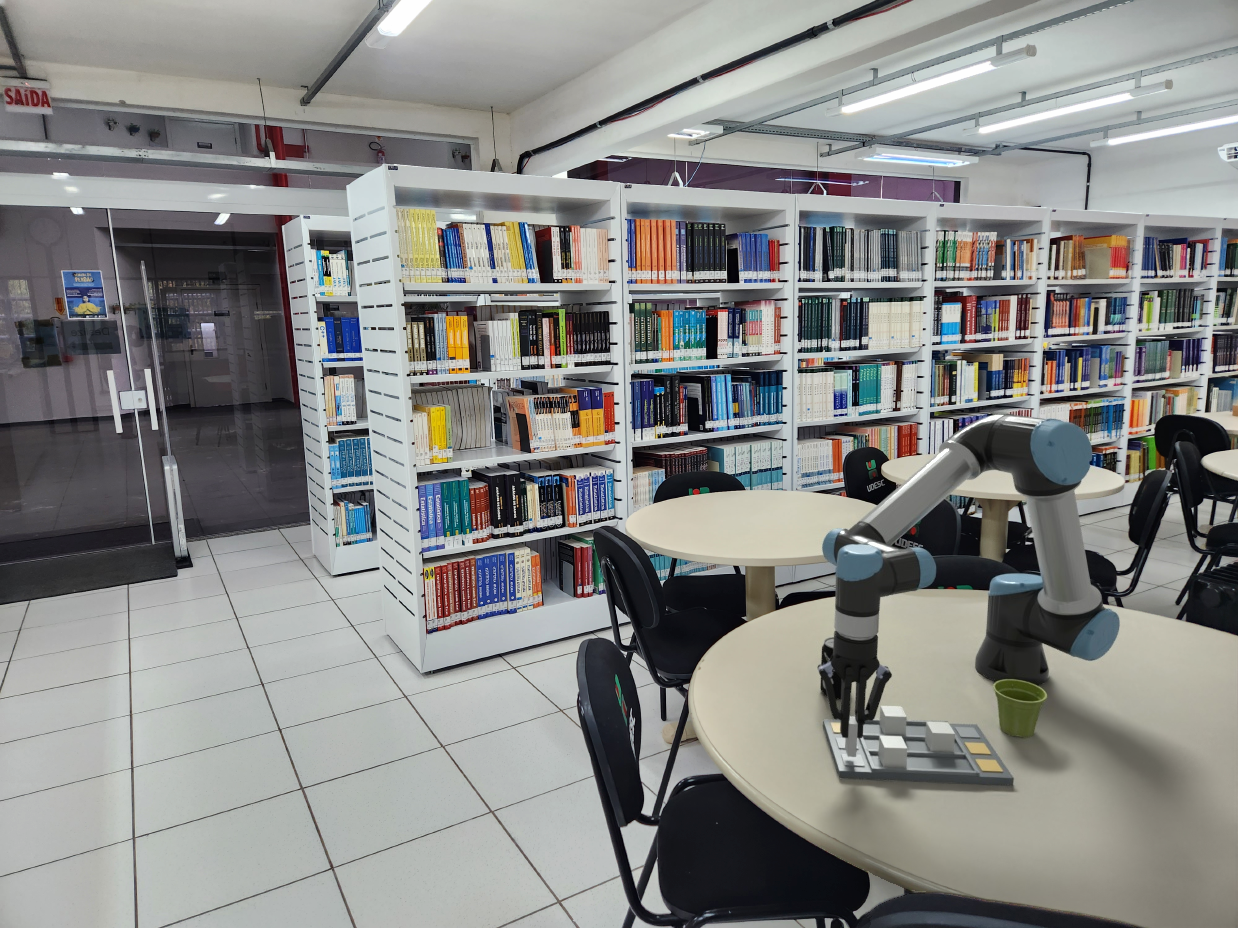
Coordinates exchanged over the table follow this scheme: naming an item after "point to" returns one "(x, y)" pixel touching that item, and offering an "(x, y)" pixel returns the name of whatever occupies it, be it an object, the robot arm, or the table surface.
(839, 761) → the switch bank
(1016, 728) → the plant pot
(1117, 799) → the table surface
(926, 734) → the white cube
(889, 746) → the white cube
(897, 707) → the white cube
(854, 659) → the robot arm
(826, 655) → the beverage can
